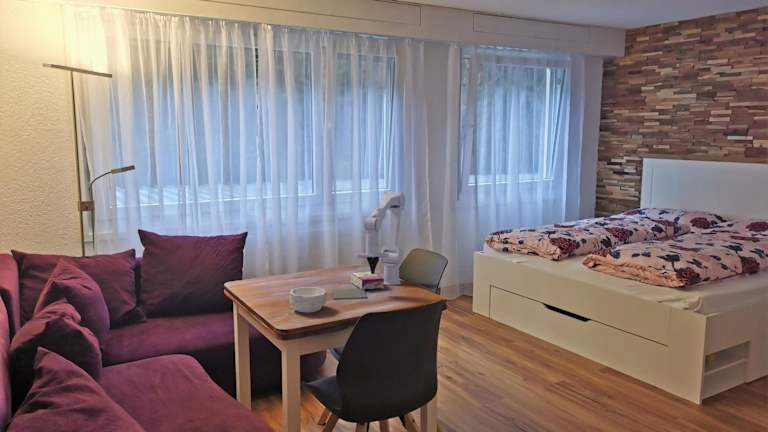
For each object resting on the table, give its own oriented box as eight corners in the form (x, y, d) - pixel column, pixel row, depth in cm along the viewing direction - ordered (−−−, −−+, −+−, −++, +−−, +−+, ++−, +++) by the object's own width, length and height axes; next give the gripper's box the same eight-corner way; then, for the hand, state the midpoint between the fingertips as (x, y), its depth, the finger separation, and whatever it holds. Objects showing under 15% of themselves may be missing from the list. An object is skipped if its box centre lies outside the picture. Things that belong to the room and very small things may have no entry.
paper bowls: (334, 309, 247) (334, 291, 246) (304, 317, 236) (304, 298, 235) (311, 302, 258) (311, 284, 256) (282, 309, 247) (282, 290, 246)
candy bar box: (384, 289, 278) (371, 281, 293) (384, 278, 277) (372, 271, 292) (361, 290, 274) (350, 282, 289) (361, 279, 273) (350, 272, 288)
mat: (332, 290, 275) (332, 289, 275) (363, 289, 277) (363, 288, 276) (333, 299, 261) (333, 298, 261) (366, 298, 263) (366, 297, 263)
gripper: (357, 246, 262) (357, 276, 264) (389, 245, 264) (389, 275, 266) (355, 243, 269) (356, 272, 271) (387, 242, 271) (387, 271, 273)
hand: (372, 273), depth 269 cm, fingers closed
